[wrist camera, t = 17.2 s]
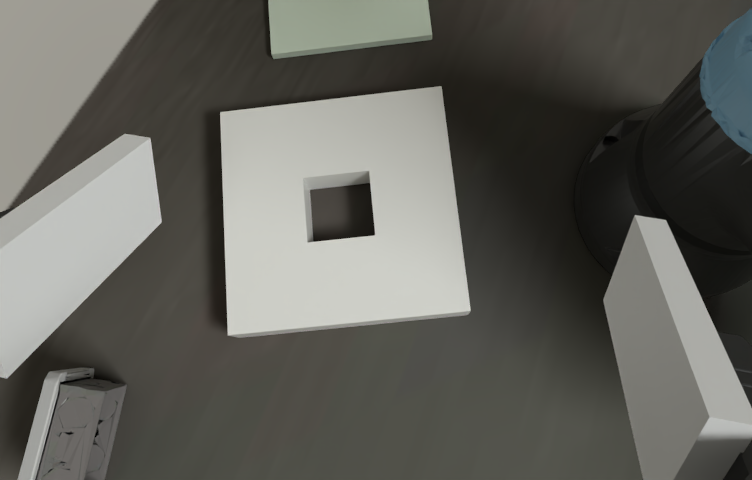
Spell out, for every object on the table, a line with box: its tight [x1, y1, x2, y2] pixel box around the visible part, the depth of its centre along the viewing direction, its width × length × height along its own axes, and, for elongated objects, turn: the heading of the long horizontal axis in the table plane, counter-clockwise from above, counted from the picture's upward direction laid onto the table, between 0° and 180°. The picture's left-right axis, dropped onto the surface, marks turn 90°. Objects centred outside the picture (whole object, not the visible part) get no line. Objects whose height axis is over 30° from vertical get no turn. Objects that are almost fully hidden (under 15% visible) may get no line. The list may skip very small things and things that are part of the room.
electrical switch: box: [18, 367, 127, 480], centre depth 41 cm, size 9×5×9 cm, turn 171°
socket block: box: [220, 86, 471, 338], centre depth 47 cm, size 18×18×3 cm
